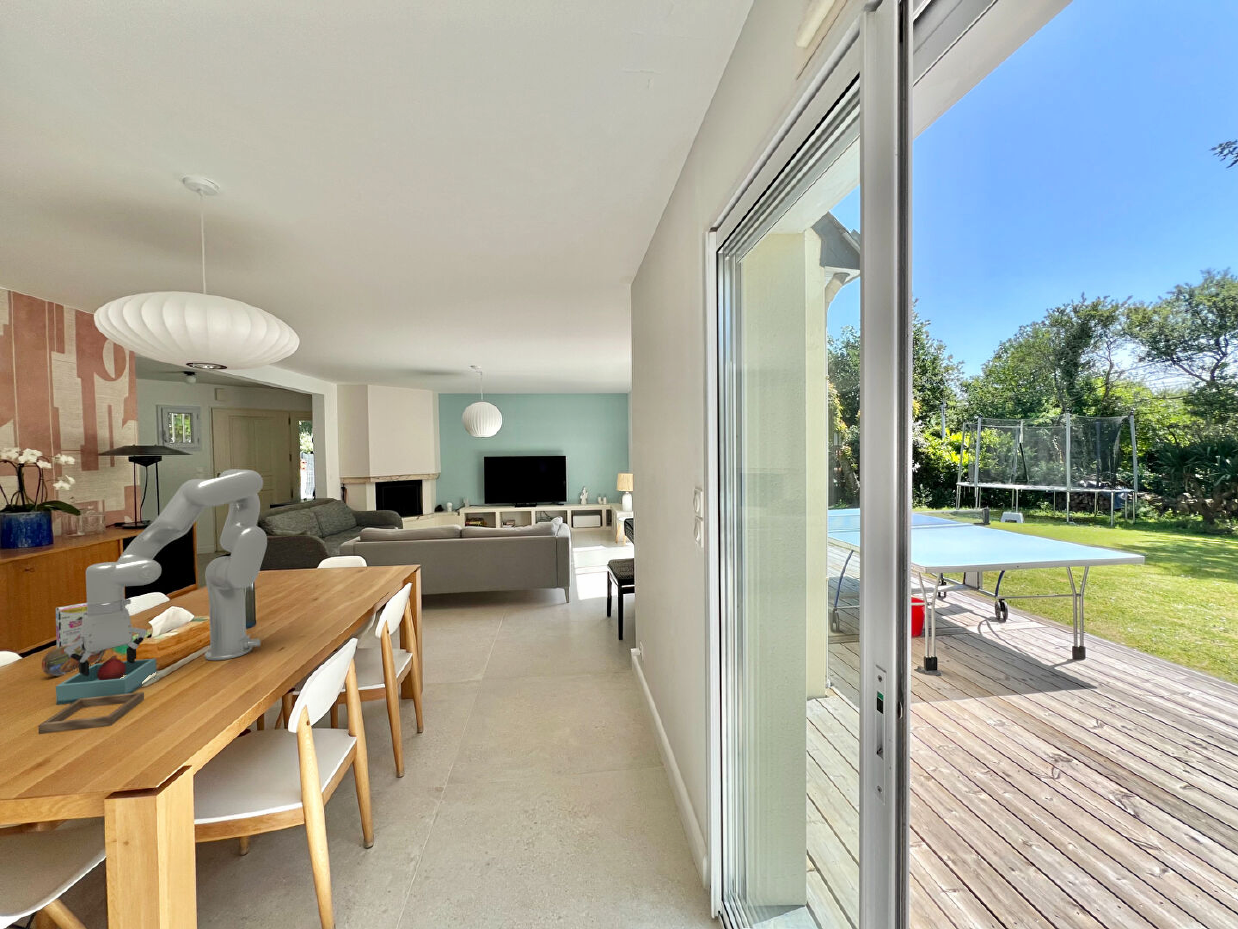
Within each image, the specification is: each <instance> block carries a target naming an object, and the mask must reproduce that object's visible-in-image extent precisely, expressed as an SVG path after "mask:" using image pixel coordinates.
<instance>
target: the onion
mask: <svg viewBox="0 0 1238 929" xmlns="http://www.w3.org/2000/svg"><path fill="white" fill-rule="evenodd" d="M117 657H118V656H117V655H112V656H111V657H110V658H108V659H107V660H105V661H104V662H102V663H103V664H102V665H101V666H100V668H99V669H98V672H97V677H98V679H99V680H111V679H120V678H121V677H123V675H124V674H125V671H126V666H125V664H124V663H123V662H122V661H123V660H120V659H118V658H117Z"/></svg>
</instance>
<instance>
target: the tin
mask: <svg viewBox="0 0 1238 929" xmlns="http://www.w3.org/2000/svg"><path fill="white" fill-rule="evenodd" d="M73 643H74V642H73ZM73 643H70V644H67V645H64V646H61V647H58V648H57V647H55V648H53V649H51V650H50V651H48V652H47V653H46V654H45V656H44V657H43V658H42V660H41V668H42V671H43V672H44V673H45V674H46V675H49V676H54V677H61V676H60V675H63V676H65V675H64V674H66V673H68V672H71V671H73V670H75V669H79V661H77V660H75V659H73V658H71V657H69V655H68V654H67V653H66V652H65V651H64V649H65V648H66V647H68V646H69V645H71V644H73ZM82 651H83V650H81V647H80V646H79V647H77V648H76V649H74V652H75V653H76V654H78V655H79V654H80V653H81V652H82ZM105 652H106V651H105V650H103V651H99V652H95V653H92V654H91V655H90V656H89V657H88V659H87V661H89V665H91V664H92V663H96V662H97V663H98V662H99V661H101V660H102V658H103V657H104V654H105ZM97 663H96V664H97ZM91 666H92V665H91ZM66 675H67V674H66Z"/></svg>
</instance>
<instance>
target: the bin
mask: <svg viewBox="0 0 1238 929" xmlns="http://www.w3.org/2000/svg"><path fill="white" fill-rule="evenodd" d="M121 661H122V662H123V663H124V664H125V666H126V671H125V674H124V675H127V676H125V677H124V678H121V679H111V680H99V679H98V677H97V672H98V669H99V668H100V666H101V665H102V664H103V663H104V662H102V663H96V664H93V665H91V666H89V675H88V676H84V675H82V674H80V673H79V672H78V673H76V674H74V675H73V676H71V677H69V678H68V679H67V678H66V680H64V681H62V682H60V683H59V684H57V685H56V686H55V696H56V697H55V698H56V706H59V705H60V706H61V705H68V704H69V703H70V704H72V703H74V702H75V701H77V700H79V699H81V698H91V697H100V696H110V695H120V694H129V693H135V692H136V691H137V690H138V689H140V688H142V686H143V685H142V682H143V681H144V680H145V679H146V678H147V677H148V676H149V675H152V674H153V673H155V672H156V671H158V670H157V658H154V657H153V658H146V659H135V663H133V664H132V663H129V662H127V660H125V661H123V660H121ZM70 704H69V705H70Z"/></svg>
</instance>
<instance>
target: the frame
mask: <svg viewBox="0 0 1238 929" xmlns="http://www.w3.org/2000/svg"><path fill="white" fill-rule="evenodd" d="M144 700H145V692H144V691H142V692H141V691H140V692H133V693H129V694H120V695H110V696H100V697H91V698H81V699H79V700H77V701H75V702H74V703H70V704H69V705H68V706H66V707H65V708H63V709H61V710H59V711H58V712H57V713H55V714H53V715H52V716H51V717H49V718H47V719H46V720H44V721H42V722H41V723H40V724H38V725H37V726H38V734H47V733H48V734H49V733H55V732H64V731H65V730H66V731H73V730H74V731H75V730H81V729H90V728H91V729H93V728H100V727H109V726H112V725H113V724H114V723H115V722H116V721H118V720H119V719H121V718H122V717H124V715H125V714H127V713H129V712H130V711H131V710H132V709H134V708H136V706H138V705H139V704H140V703H141V702H143V701H144ZM119 704H122V705H121V706H119V707H118V708H116V709H115V710H113V711H112V712H111V713H110V714H108V715H103V716H95V717H87V718H76V719H68V718H69V717H70V716H72V715H73V714H75V713H77V711H79V710H81V709H83V708H91V707H98V706H109V705H119ZM74 712H75V713H74ZM66 719H67V720H66Z"/></svg>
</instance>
